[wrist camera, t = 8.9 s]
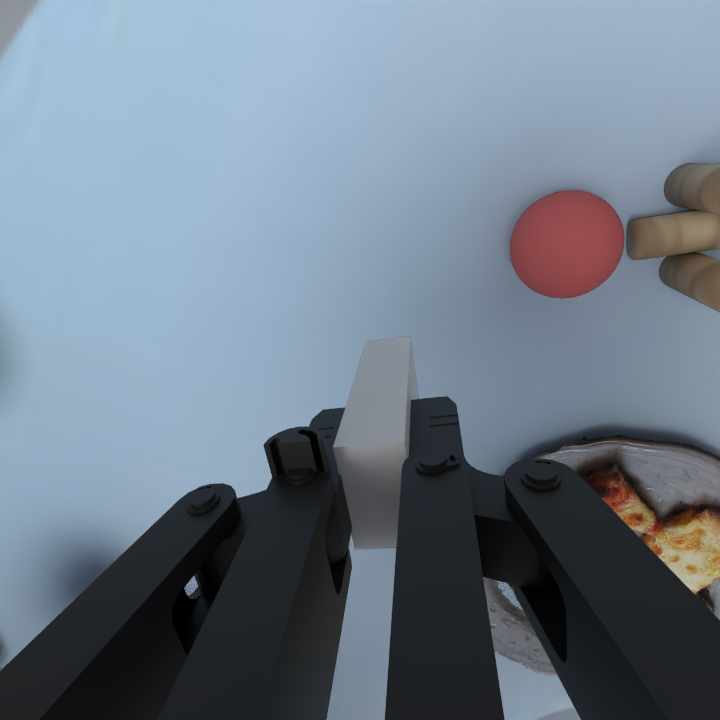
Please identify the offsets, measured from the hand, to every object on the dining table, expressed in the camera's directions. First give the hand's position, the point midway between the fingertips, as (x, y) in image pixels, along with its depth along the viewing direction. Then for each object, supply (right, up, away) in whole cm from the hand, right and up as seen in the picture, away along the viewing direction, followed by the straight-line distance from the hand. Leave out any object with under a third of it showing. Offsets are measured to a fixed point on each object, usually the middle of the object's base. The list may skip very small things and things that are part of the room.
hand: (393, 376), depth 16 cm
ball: (+11, +7, +11) cm, 17 cm away
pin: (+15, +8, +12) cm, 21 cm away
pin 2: (+19, +6, +14) cm, 24 cm away
